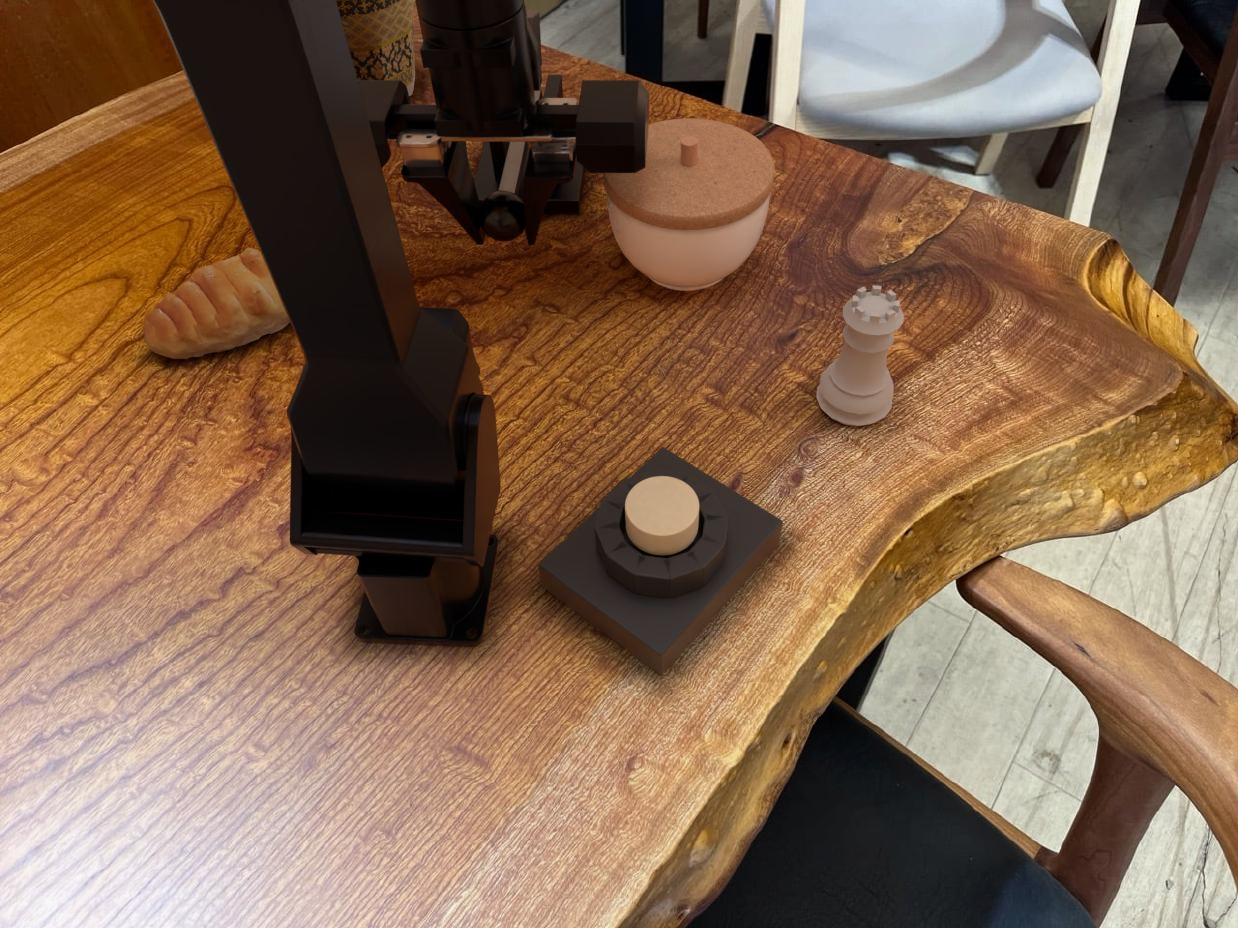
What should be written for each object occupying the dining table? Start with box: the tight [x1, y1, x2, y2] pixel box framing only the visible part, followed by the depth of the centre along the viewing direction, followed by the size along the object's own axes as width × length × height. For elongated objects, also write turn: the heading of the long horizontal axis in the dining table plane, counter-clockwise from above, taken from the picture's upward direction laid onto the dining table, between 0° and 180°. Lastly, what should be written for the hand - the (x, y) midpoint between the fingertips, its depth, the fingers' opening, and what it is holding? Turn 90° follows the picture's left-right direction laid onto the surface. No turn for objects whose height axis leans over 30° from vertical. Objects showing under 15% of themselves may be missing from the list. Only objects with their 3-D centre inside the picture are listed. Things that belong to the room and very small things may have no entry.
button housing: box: [537, 446, 784, 676], centre depth 49 cm, size 10×8×4 cm
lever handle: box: [478, 87, 543, 243], centre depth 66 cm, size 15×3×3 cm, turn 176°
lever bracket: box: [473, 74, 587, 215], centre depth 71 cm, size 10×8×7 cm
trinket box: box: [603, 117, 776, 292], centre depth 62 cm, size 11×11×9 cm
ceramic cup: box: [336, 0, 416, 97], centre depth 79 cm, size 13×10×10 cm
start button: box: [625, 476, 699, 556], centre depth 47 cm, size 4×4×2 cm
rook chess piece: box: [816, 284, 905, 427], centre depth 54 cm, size 4×4×8 cm
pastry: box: [142, 247, 291, 360], centre depth 62 cm, size 9×7×4 cm
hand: (507, 241), depth 63 cm, fingers closed on lever handle, 3 cm apart
